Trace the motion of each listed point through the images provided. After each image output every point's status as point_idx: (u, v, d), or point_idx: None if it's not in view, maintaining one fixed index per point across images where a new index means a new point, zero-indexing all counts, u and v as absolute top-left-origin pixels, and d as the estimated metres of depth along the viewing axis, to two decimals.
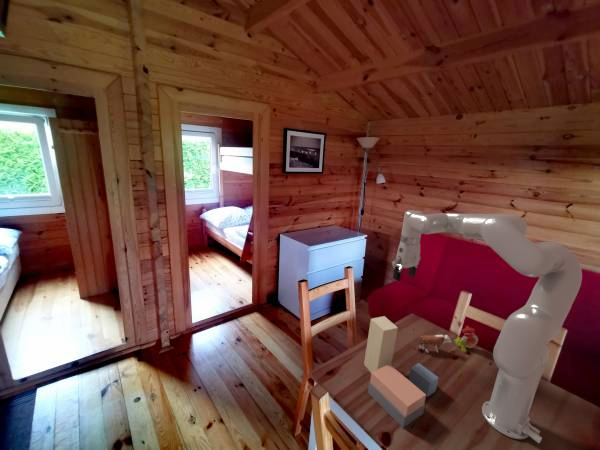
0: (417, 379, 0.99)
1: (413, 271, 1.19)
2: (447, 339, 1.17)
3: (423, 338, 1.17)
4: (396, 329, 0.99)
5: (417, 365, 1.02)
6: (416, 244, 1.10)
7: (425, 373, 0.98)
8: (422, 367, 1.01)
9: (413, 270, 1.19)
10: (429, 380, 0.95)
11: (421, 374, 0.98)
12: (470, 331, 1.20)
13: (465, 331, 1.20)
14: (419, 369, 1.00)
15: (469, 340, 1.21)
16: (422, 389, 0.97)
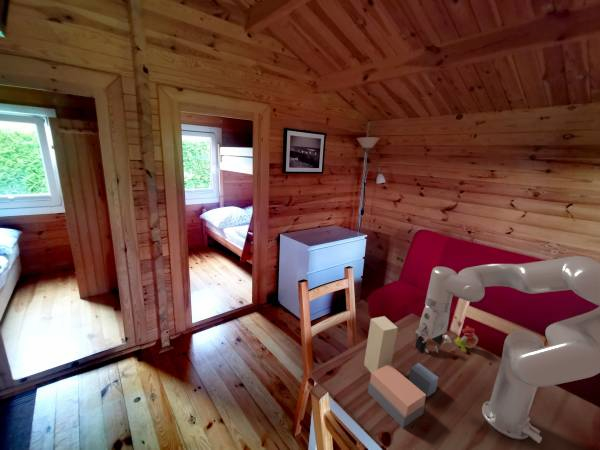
0: (417, 379, 0.99)
1: (439, 337, 0.97)
2: (447, 339, 1.17)
3: (423, 338, 1.17)
4: (396, 329, 0.99)
5: (417, 365, 1.02)
6: (446, 310, 0.89)
7: (425, 373, 0.98)
8: (422, 367, 1.01)
9: (439, 336, 0.97)
10: (429, 380, 0.95)
11: (421, 374, 0.98)
12: (470, 331, 1.20)
13: (465, 331, 1.20)
14: (419, 369, 1.00)
15: (469, 340, 1.21)
16: (422, 389, 0.97)
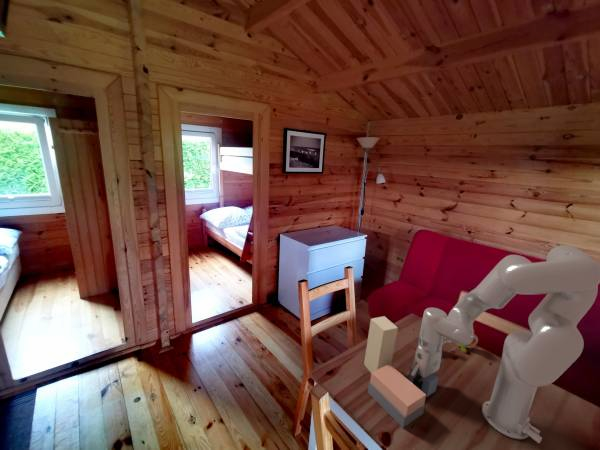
0: None
1: None
2: (447, 339, 1.17)
3: None
4: (396, 329, 0.99)
5: None
6: (438, 351, 0.93)
7: None
8: None
9: None
10: (429, 380, 0.95)
11: None
12: None
13: None
14: None
15: None
16: (422, 389, 0.97)
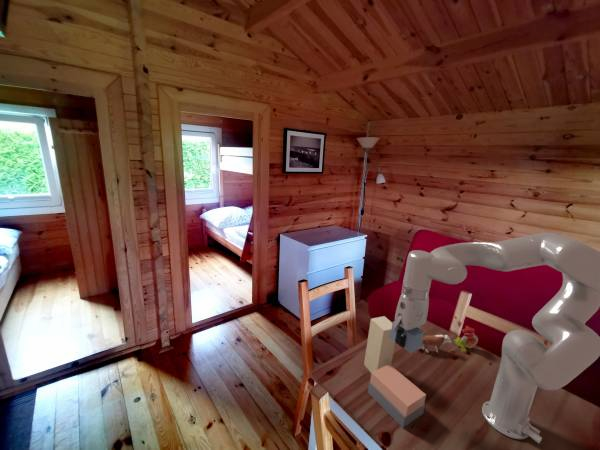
0: None
1: None
2: (447, 339, 1.17)
3: (423, 338, 1.17)
4: None
5: None
6: (423, 299, 0.80)
7: None
8: None
9: None
10: (413, 334, 0.82)
11: None
12: (470, 331, 1.20)
13: (465, 331, 1.20)
14: None
15: (469, 340, 1.21)
16: (405, 345, 0.84)
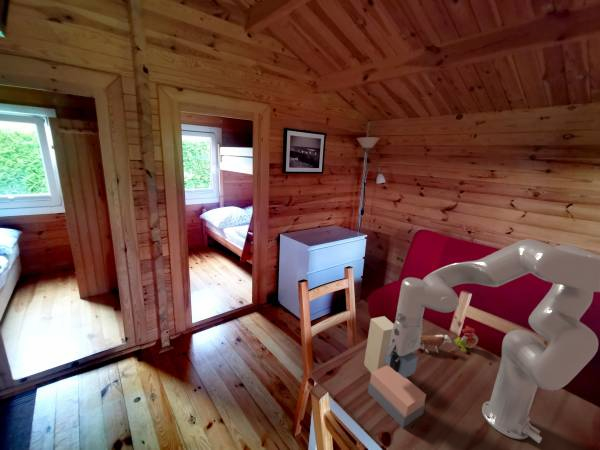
0: None
1: None
2: (447, 339, 1.17)
3: (423, 338, 1.17)
4: None
5: None
6: (417, 326, 0.82)
7: None
8: None
9: None
10: (407, 359, 0.84)
11: None
12: (470, 331, 1.20)
13: (465, 331, 1.20)
14: None
15: (469, 340, 1.21)
16: (399, 370, 0.86)
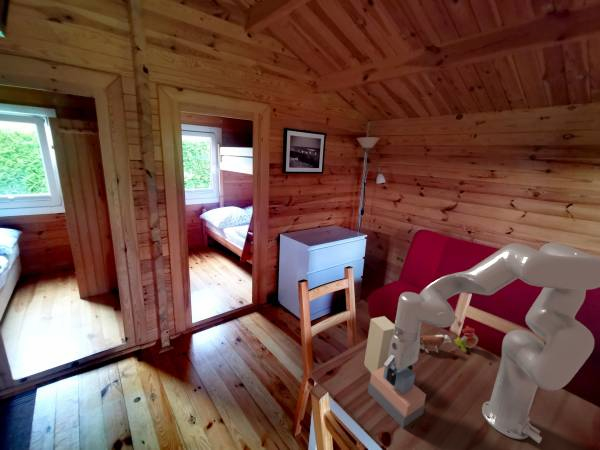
0: None
1: None
2: (447, 339, 1.17)
3: (423, 338, 1.17)
4: None
5: None
6: (415, 340, 0.83)
7: None
8: None
9: (409, 368, 0.91)
10: (404, 377, 0.86)
11: None
12: (470, 331, 1.20)
13: (465, 331, 1.20)
14: None
15: (469, 340, 1.21)
16: (397, 386, 0.88)
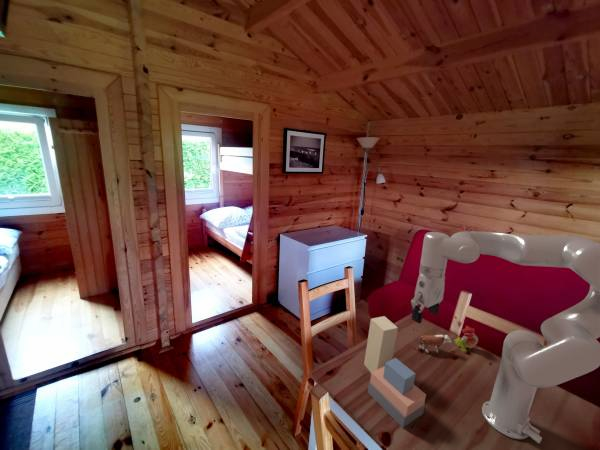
0: (392, 376, 0.89)
1: (436, 308, 0.94)
2: (447, 339, 1.17)
3: (423, 338, 1.17)
4: (396, 329, 0.99)
5: (393, 360, 0.92)
6: (441, 276, 0.85)
7: (401, 369, 0.89)
8: (398, 362, 0.92)
9: (436, 306, 0.93)
10: (404, 377, 0.86)
11: (396, 370, 0.88)
12: (470, 331, 1.20)
13: (465, 331, 1.20)
14: (394, 365, 0.90)
15: (469, 340, 1.21)
16: (397, 386, 0.88)
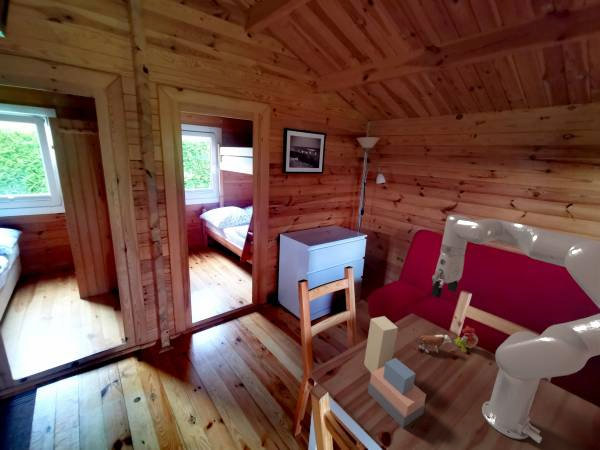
0: (392, 376, 0.89)
1: (454, 286, 1.02)
2: (447, 339, 1.17)
3: (423, 338, 1.17)
4: (396, 329, 0.99)
5: (393, 360, 0.92)
6: (461, 255, 0.93)
7: (401, 369, 0.89)
8: (398, 362, 0.92)
9: (454, 284, 1.02)
10: (404, 377, 0.86)
11: (396, 370, 0.88)
12: (470, 331, 1.20)
13: (465, 331, 1.20)
14: (394, 365, 0.90)
15: (469, 340, 1.21)
16: (397, 386, 0.88)
